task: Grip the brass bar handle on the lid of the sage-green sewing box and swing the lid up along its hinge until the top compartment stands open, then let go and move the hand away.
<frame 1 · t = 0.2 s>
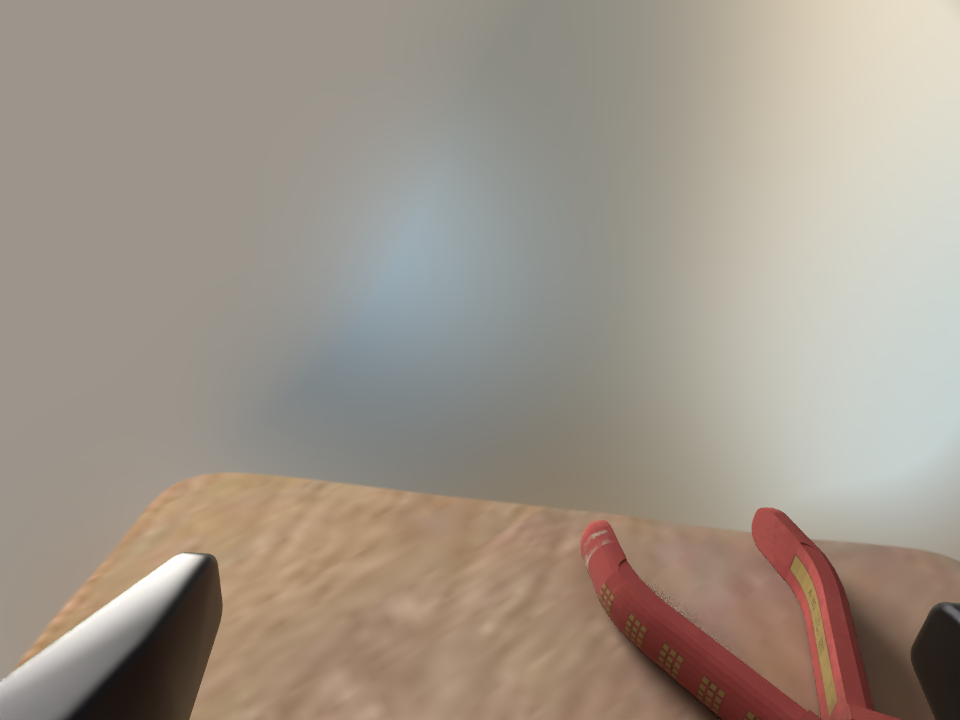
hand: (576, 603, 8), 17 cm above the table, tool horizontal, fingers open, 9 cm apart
pliers: (739, 706, 25), on the table
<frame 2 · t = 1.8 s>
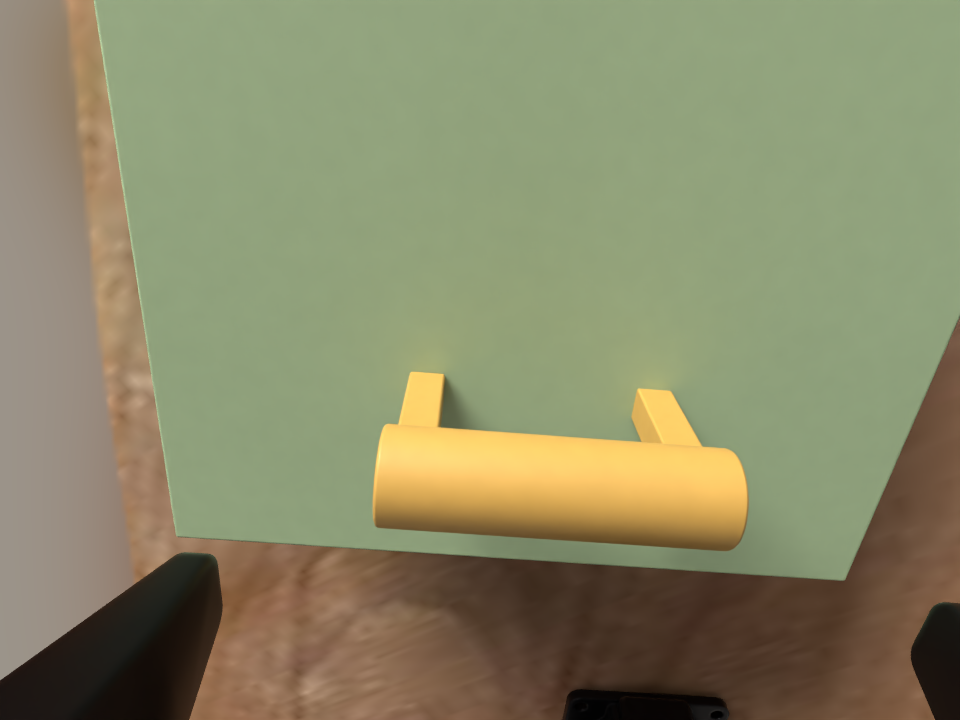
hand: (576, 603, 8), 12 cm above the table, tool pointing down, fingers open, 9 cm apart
lid: (561, 336, 11), point 8 cm above the table, hinge at 0.0°
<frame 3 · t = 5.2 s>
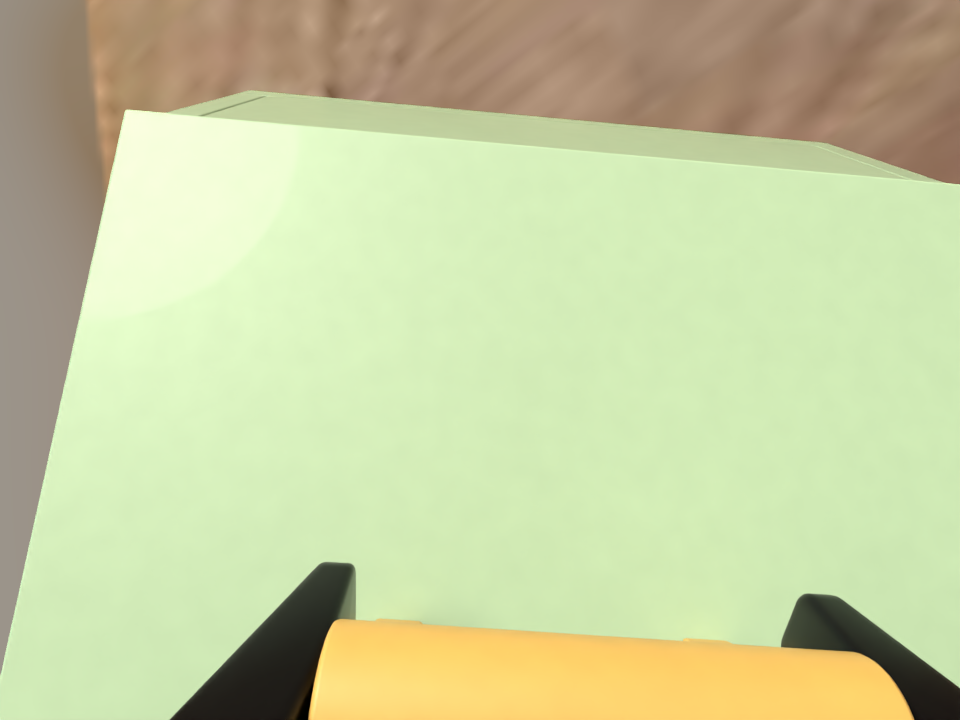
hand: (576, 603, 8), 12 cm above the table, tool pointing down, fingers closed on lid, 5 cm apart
lid: (578, 518, 8), point 12 cm above the table, hinge at 40.5°, touching gripper
sewing box: (516, 321, 20), on the table
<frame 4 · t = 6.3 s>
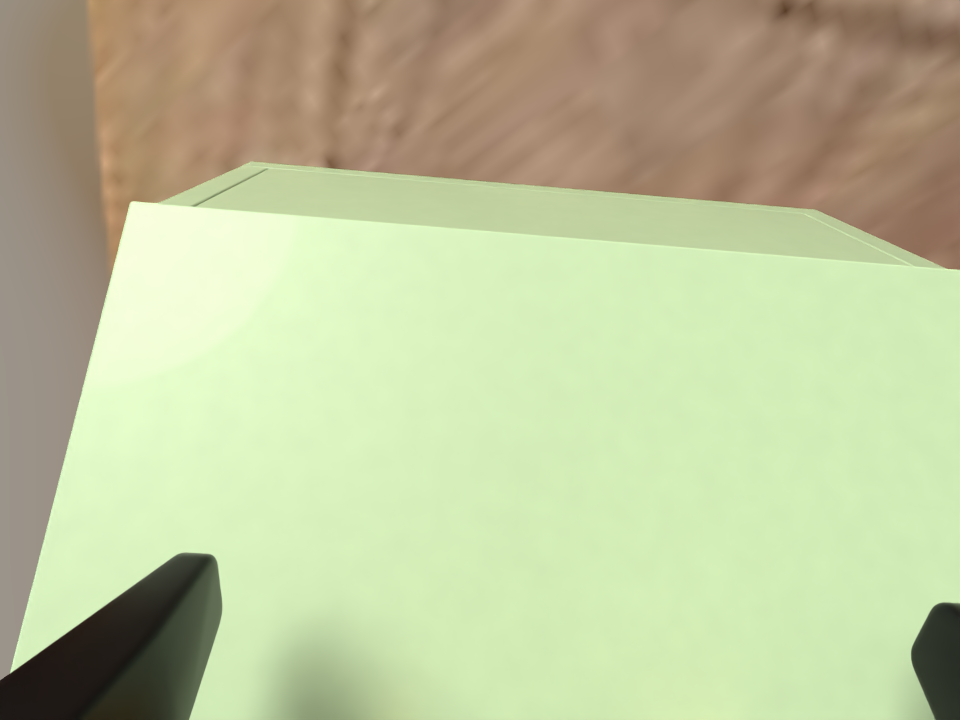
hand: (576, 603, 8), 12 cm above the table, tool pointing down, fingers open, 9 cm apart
lid: (576, 620, 8), point 12 cm above the table, hinge at 42.3°
sewing box: (514, 381, 20), on the table
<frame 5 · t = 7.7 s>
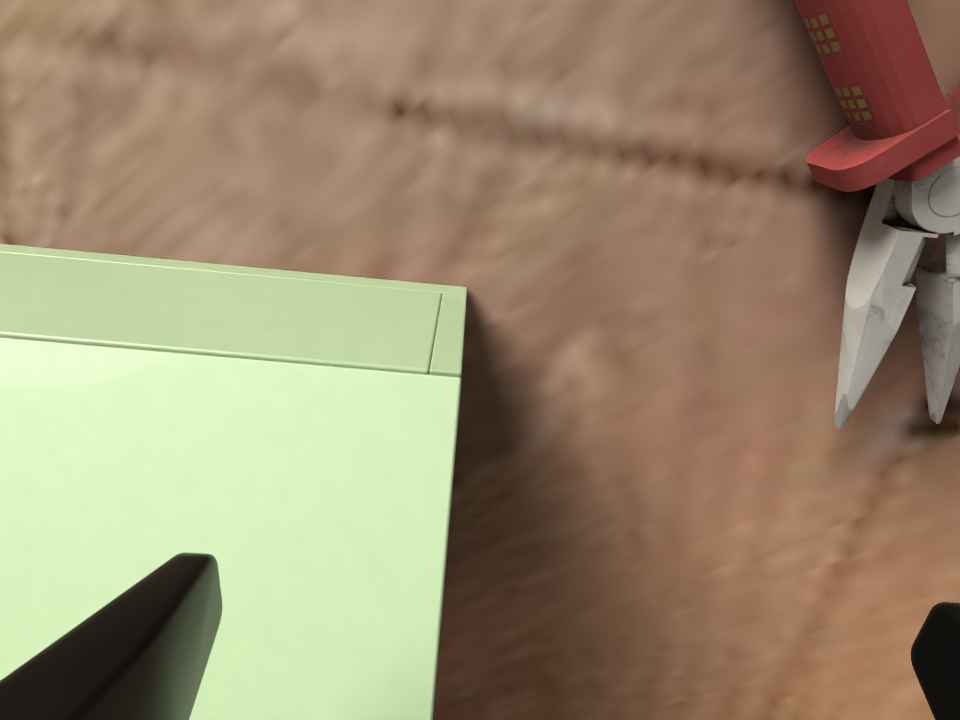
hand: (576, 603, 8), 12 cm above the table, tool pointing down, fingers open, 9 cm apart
sewing box: (219, 435, 21), on the table
pliers: (867, 12, 16), on the table
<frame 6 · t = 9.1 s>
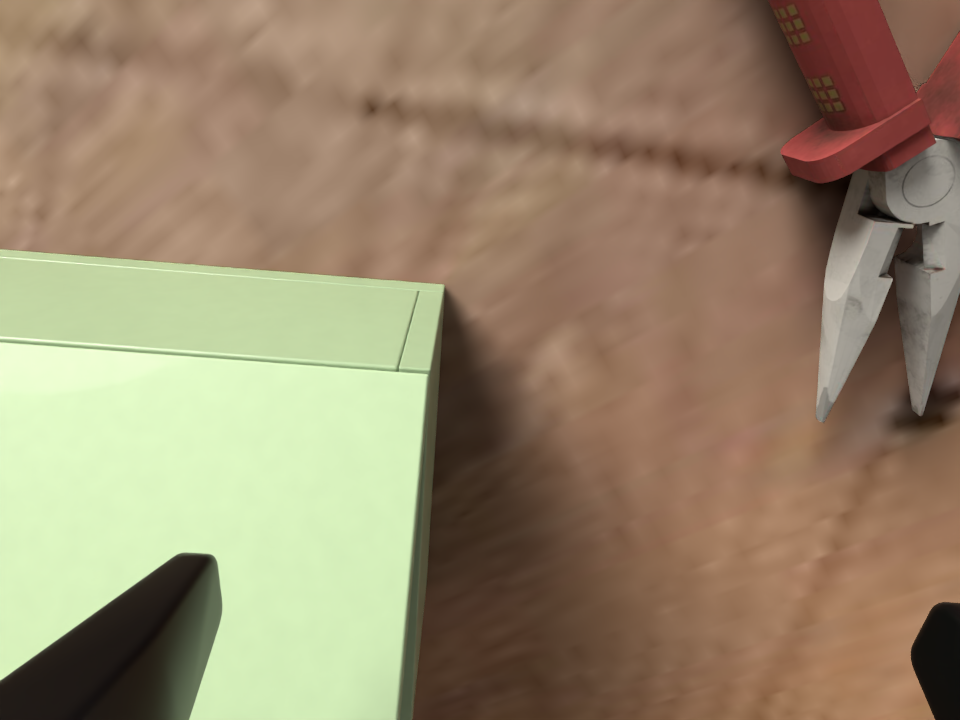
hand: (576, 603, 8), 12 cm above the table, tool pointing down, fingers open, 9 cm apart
sewing box: (201, 437, 21), on the table
pliers: (839, 2, 16), on the table
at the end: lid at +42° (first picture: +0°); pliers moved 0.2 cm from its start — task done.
